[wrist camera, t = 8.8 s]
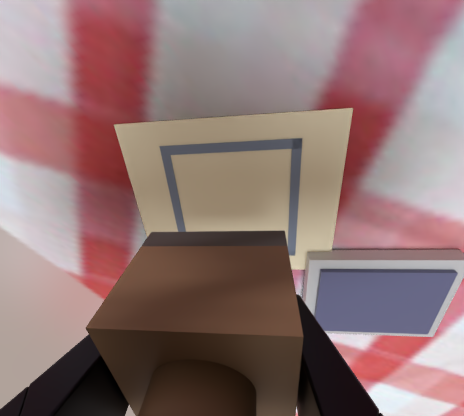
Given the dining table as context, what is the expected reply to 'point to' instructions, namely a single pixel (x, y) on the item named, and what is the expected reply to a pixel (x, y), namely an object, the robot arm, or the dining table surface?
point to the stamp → (204, 326)
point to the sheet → (241, 174)
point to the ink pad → (382, 290)
